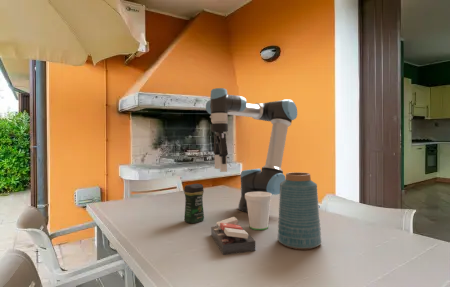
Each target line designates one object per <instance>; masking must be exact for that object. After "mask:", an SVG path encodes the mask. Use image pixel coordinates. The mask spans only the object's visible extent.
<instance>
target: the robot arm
mask: <svg viewBox="0 0 450 287" xmlns="http://www.w3.org/2000/svg"><path fill="white" fill-rule="evenodd" d="M205 110H206V112H207V113H208V114H209V115H210V116H209V118H210V121H211V125H210V127H211V130H210V131H211V132H212V133H215V134H214V140H213V141H214V144H213V154H214V169H216V170H217V169H219V171H220V172H221V173H222V172H224V173H225V172H227V171H228V159H227V157H228V155H229V152H228V145H227V137H226V133H227V132H228V131H229V125H228V124H229V123H228V122H229V121H228V118H229V116H239V117H246V118H252V119H253V120H258V121H264V122H270V123H271V124H272V127H271V132H270V138H269V142H268V149H267V154H266V160H265V165H263V166H261V168H252V169H244V170H241V172H240V193H241V194H240V195H241V196H240V198H239V202H238V211H241V212H244V213H248V209H247V201H246V199H245V193H248V192H269V193H271V194H272V196H273V195H275V196H276V195H280V183H281V182H283V181H284V180H286V175H285V174H284V171H283V169H282V163H283V157H284V151H285V146H286V140H287V134H288V129H289V127H290V126H292V122H293V121H295V120H296V119H297V117H298V108H297V105H296V104H295V102H294V101H293V100H292V99H283V100H275V101H268V102H262V103H259V102H256V103H248V102H247V99H246V98H245V97H244V96H240V95H235V94H229V93H228V90H227V89H226V88H224V87H223V88H222V87H219V88H213V89H211V90H210V98H209V100H208V101H207V102H206V103H205ZM227 173H228V172H227Z"/></svg>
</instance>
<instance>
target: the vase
mask: <svg viewBox="0 0 450 287" xmlns="http://www.w3.org/2000/svg"><path fill="white" fill-rule="evenodd" d="M285 179H286V180H284V181H283V182H281V183H280V194H279V199H278V200H279V203H278V204H279V205H278V222H277V223H278V225H277V240H278V242H279V243H280V244H282V245H283V246H285V247H287V248H290V249H294V250H303V251H304V250H312V249H315V248H317V247H319V246H320V245H321V244H322V232H321V220H320V209H319V194H318V184H317V183H316V182H314V181H313V180H312V179H311V173H308V172H303V171H302V172H295V171H294V172H293V171H292V172H287V173H286V174H285Z"/></svg>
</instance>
